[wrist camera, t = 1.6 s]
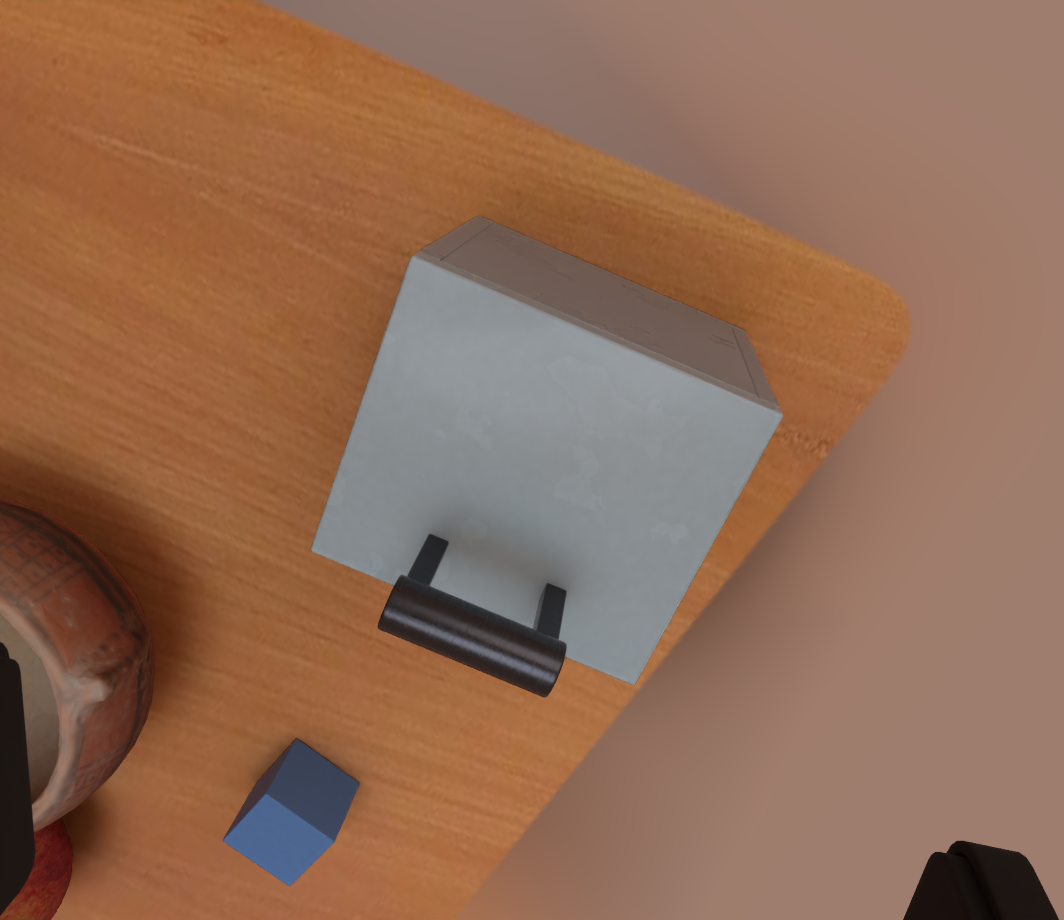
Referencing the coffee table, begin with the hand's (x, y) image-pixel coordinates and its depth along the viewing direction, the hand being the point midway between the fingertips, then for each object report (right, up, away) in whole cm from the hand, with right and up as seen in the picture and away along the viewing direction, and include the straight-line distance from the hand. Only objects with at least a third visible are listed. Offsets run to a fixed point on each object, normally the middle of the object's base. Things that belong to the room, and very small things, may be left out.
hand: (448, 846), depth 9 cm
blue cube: (-11, -13, +37) cm, 40 cm away
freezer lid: (+1, +3, +19) cm, 19 cm away
